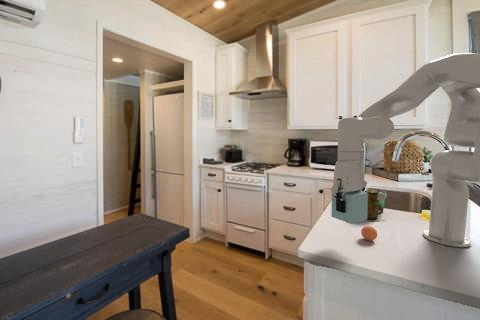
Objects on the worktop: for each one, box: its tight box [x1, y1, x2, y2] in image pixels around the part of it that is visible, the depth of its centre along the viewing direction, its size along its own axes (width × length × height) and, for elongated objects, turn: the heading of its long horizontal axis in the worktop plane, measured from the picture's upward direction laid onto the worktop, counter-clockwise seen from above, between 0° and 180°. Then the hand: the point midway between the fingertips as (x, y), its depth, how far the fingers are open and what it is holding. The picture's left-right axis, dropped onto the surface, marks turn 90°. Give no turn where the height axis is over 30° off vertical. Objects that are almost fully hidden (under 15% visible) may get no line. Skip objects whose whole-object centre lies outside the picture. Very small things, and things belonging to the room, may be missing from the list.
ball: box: [360, 225, 378, 242], centre depth 82 cm, size 5×5×5 cm
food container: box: [367, 188, 388, 215], centre depth 113 cm, size 12×6×10 cm, turn 168°
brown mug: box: [364, 189, 385, 222], centre depth 104 cm, size 7×8×12 cm
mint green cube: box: [330, 191, 368, 225], centre depth 77 cm, size 8×8×9 cm
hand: (349, 209), depth 77 cm, fingers closed on mint green cube, 7 cm apart
